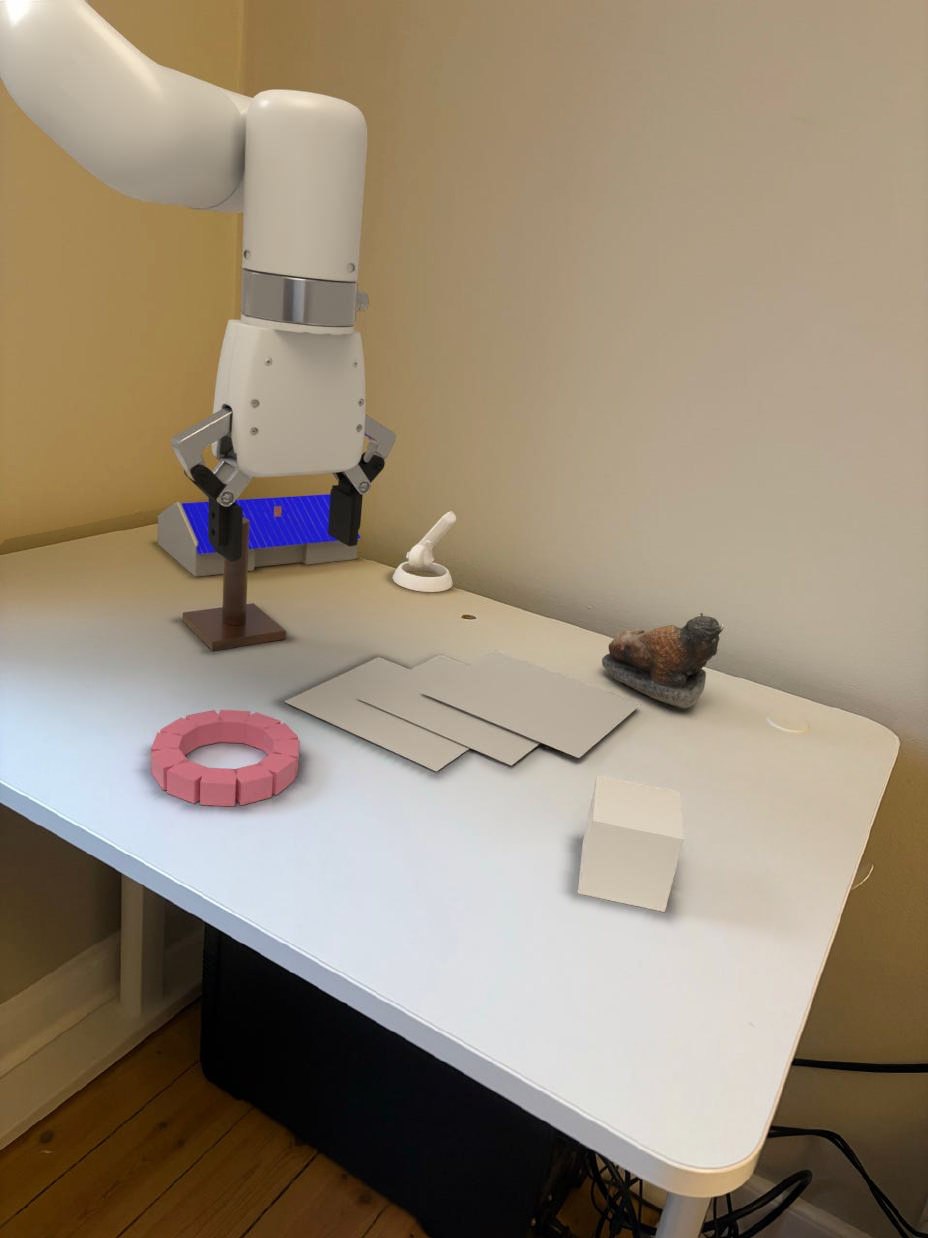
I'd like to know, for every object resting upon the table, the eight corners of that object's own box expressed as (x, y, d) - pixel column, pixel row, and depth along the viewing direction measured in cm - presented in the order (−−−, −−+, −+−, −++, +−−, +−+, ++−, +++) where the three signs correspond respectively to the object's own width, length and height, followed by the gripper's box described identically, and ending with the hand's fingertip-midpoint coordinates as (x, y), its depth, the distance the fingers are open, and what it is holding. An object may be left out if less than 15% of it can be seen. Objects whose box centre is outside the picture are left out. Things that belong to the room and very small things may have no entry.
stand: (212, 651, 91) (214, 535, 86) (182, 620, 96) (183, 510, 92) (285, 639, 95) (292, 528, 91) (253, 611, 101) (257, 506, 97)
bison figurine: (586, 676, 96) (603, 586, 92) (629, 663, 101) (647, 577, 97) (679, 726, 88) (702, 630, 84) (720, 709, 93) (744, 618, 89)
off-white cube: (582, 843, 69) (596, 774, 66) (662, 860, 68) (679, 791, 66) (577, 894, 63) (592, 820, 61) (665, 913, 62) (684, 839, 60)
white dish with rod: (475, 567, 108) (430, 526, 107) (419, 622, 115) (378, 584, 115) (496, 539, 114) (454, 500, 113) (442, 593, 121) (402, 557, 121)
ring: (184, 821, 65) (184, 797, 64) (132, 747, 73) (132, 725, 72) (322, 784, 72) (324, 762, 71) (261, 720, 79) (262, 700, 79)
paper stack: (524, 812, 71) (525, 804, 71) (284, 702, 83) (284, 695, 82) (639, 710, 90) (641, 704, 90) (430, 632, 101) (431, 626, 101)
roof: (197, 578, 108) (198, 518, 105) (155, 542, 118) (155, 486, 115) (359, 560, 121) (364, 506, 118) (309, 528, 131) (312, 478, 128)
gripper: (373, 305, 69) (356, 522, 76) (149, 289, 58) (151, 545, 65) (434, 318, 64) (410, 550, 71) (202, 304, 53) (198, 580, 60)
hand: (286, 547), depth 68 cm, fingers open, 9 cm apart
